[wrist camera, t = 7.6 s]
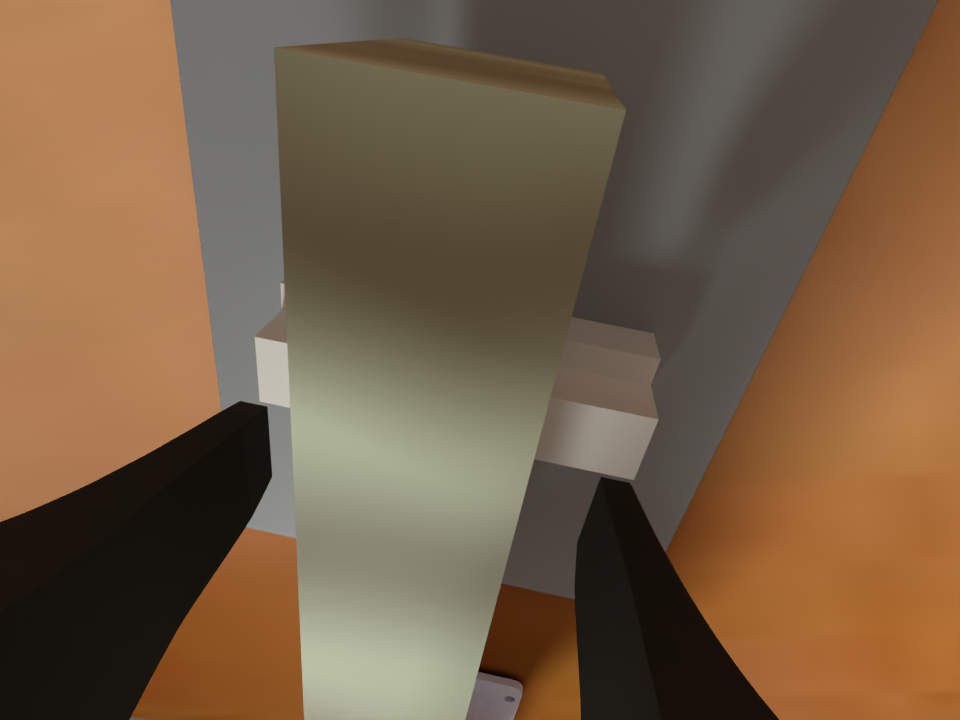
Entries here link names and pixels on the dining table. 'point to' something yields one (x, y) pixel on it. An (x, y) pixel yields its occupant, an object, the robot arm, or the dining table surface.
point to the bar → (422, 343)
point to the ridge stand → (619, 228)
